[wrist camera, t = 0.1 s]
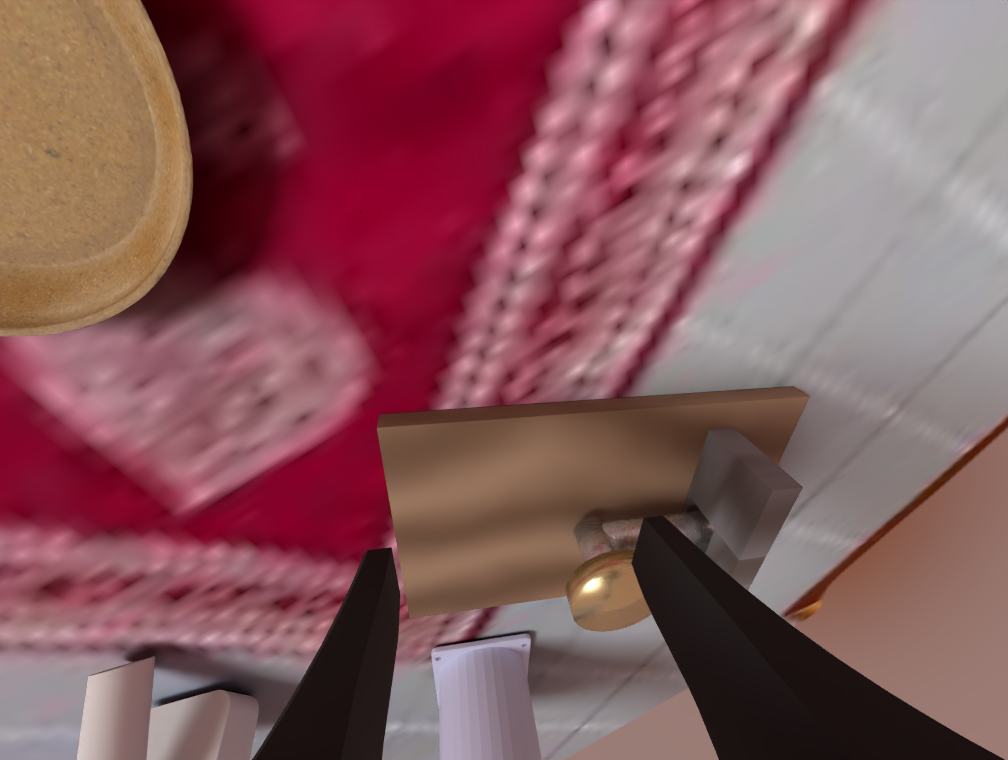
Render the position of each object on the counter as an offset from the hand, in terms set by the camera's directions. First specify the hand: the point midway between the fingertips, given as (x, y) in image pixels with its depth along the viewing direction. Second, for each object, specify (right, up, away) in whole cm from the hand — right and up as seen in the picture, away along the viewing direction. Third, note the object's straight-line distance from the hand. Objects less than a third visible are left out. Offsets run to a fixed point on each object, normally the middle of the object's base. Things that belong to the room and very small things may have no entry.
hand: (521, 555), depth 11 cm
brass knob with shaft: (+9, -4, +13) cm, 16 cm away
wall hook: (-24, -17, +17) cm, 34 cm away
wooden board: (+5, -3, +14) cm, 15 cm away
